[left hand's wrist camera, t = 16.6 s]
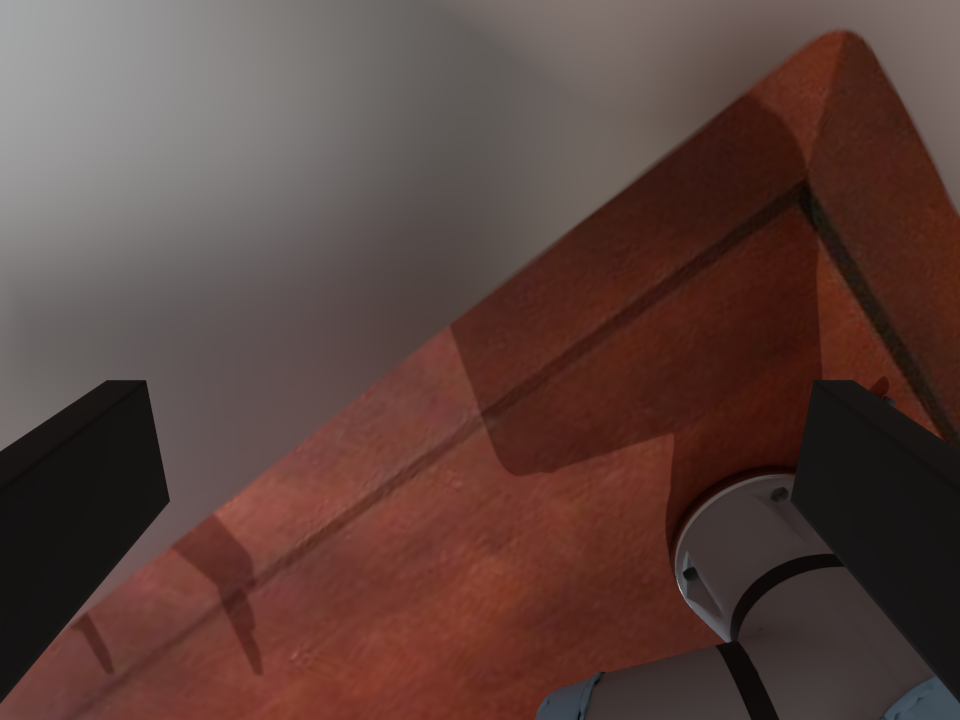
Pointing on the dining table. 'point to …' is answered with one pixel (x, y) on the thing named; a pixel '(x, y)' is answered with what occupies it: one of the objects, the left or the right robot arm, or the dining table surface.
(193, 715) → the dining table surface
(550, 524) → the dining table surface
